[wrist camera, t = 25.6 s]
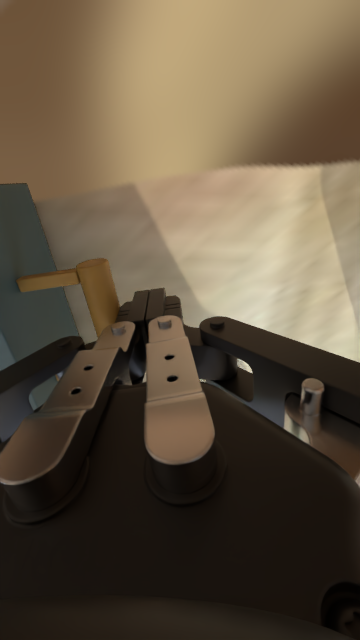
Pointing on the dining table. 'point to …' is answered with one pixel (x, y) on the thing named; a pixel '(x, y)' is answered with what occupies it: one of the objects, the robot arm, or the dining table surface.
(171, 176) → the dining table surface
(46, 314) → the drawer
